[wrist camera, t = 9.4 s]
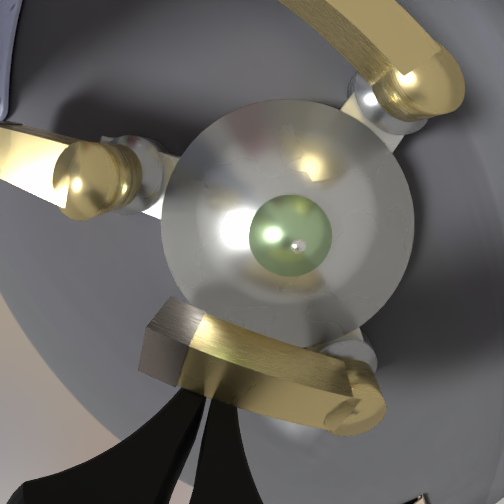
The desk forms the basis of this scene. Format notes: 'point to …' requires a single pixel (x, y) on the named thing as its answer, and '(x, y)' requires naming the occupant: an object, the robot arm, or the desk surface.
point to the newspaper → (420, 500)
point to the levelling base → (286, 217)
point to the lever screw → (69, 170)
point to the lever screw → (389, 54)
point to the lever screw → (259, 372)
